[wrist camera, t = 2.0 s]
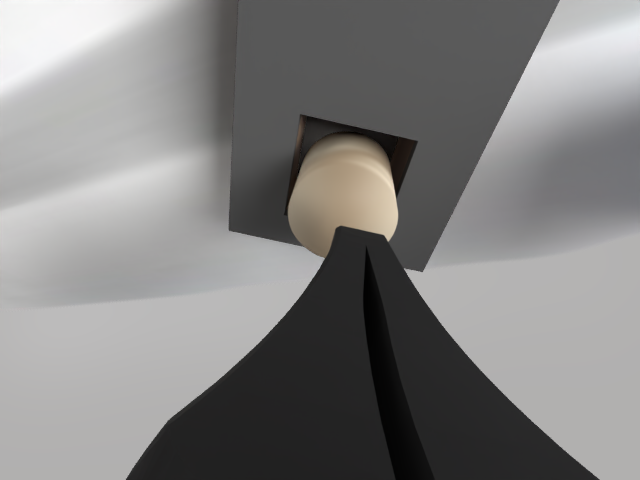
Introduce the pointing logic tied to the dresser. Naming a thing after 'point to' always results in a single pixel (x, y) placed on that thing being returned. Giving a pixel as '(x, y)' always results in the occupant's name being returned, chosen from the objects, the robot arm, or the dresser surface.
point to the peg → (342, 191)
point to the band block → (375, 98)
